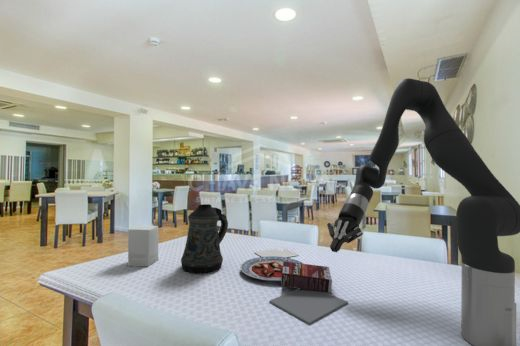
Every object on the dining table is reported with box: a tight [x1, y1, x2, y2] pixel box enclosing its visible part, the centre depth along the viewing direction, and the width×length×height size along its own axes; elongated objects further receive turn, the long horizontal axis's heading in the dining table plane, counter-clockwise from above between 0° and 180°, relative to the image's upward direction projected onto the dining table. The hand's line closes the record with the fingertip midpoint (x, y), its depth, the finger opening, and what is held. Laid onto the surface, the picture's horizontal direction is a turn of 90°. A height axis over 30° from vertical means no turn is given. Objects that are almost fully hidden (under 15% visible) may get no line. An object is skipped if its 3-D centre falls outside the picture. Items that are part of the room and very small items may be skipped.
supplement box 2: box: [127, 225, 159, 267], centre depth 112 cm, size 9×9×15 cm
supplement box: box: [280, 262, 333, 294], centre depth 89 cm, size 9×5×16 cm
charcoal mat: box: [269, 288, 349, 325], centre depth 78 cm, size 15×18×1 cm
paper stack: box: [253, 248, 298, 258], centre depth 132 cm, size 23×25×1 cm
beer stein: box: [180, 203, 229, 275], centre depth 109 cm, size 16×19×25 cm
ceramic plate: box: [240, 256, 305, 282], centre depth 103 cm, size 26×26×3 cm
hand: (333, 250), depth 85 cm, fingers closed
